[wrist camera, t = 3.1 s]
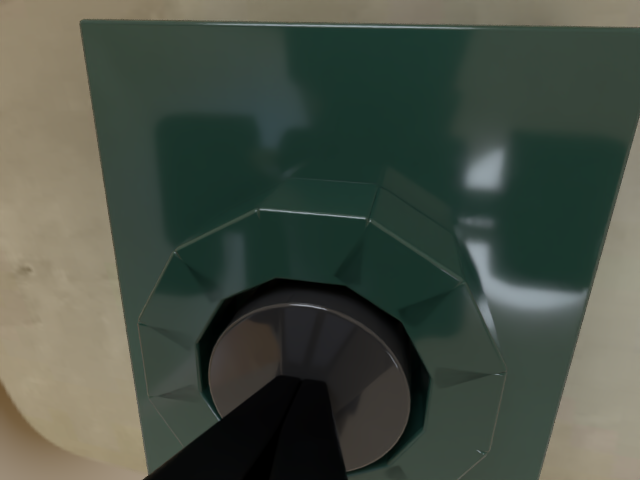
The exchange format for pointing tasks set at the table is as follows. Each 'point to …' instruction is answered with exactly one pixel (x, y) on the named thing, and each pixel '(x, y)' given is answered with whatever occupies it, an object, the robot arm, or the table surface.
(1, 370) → the table surface
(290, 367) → the dark grey push button
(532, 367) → the push button box
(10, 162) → the table surface
